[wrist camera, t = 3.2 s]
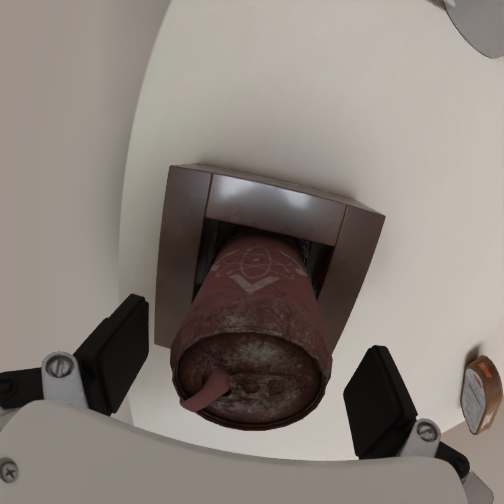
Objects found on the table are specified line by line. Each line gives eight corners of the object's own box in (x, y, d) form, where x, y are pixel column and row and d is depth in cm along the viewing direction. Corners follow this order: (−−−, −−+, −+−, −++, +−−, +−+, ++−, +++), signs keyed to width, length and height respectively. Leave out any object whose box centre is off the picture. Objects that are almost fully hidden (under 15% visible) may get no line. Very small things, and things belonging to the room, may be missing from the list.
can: (205, 252, 22) (127, 375, 9) (266, 201, 20) (259, 283, 7) (254, 304, 23) (236, 450, 10) (314, 260, 21) (365, 396, 8)
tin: (470, 400, 28) (489, 434, 20) (455, 410, 28) (473, 445, 20) (479, 342, 24) (511, 382, 16) (462, 354, 24) (492, 397, 16)
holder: (177, 304, 24) (154, 344, 18) (197, 163, 20) (169, 165, 14) (310, 333, 24) (319, 378, 18) (355, 199, 20) (386, 216, 14)
